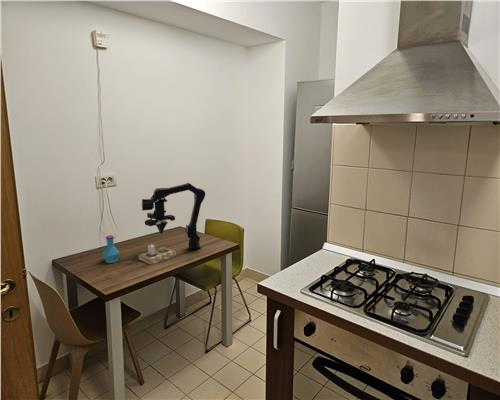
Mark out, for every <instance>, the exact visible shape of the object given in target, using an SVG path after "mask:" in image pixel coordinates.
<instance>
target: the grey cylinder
mask: <svg viewBox="0 0 500 400" xmlns="http://www.w3.org/2000/svg"><path fill="white" fill-rule="evenodd" d="M155 249H156V245H155V244H154V243H150V244H148V245H147V252H148V256H149V257H153V256H155Z"/></svg>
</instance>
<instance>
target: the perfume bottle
mask: <svg viewBox="0 0 500 400" xmlns="http://www.w3.org/2000/svg"><path fill="white" fill-rule="evenodd" d="M114 237H115V236H114V235H111V234H110V235H107V236H105V239H106V248H105V249H104V250H103V253H102V256H103V257H102V258H103V259H104V261H105V263H115V262H117V261H118V260H119V256H120V250H119V249H117V247H116V246H115V244H114Z"/></svg>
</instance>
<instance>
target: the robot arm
mask: <svg viewBox="0 0 500 400" xmlns="http://www.w3.org/2000/svg"><path fill="white" fill-rule="evenodd" d="M186 191H190V192H191V193H193V200H194V201H193V207H192V211H191V214H190V215H191V216H190V220H189V223H188V224H186V225H185V230H184V232H185V234H186V236H187V238H188V247H187V249H188V250H190V251H193V252H194V251H197V250H199V249H202V247H201V246H200V241H201V240H200V239H201V237H200V236H199V234H197V232H198V231H197V230H198V229H197V223H198V219H199V214H200V210H201V206H202V203H203V201H204V199H205V197H206V191H205V190H204V189H202V188H199V187H198V188H197V187H196V186H194V185H192V184H191V183H190V182H187V183H183V184H180V185H175V186H171V187H157V188H155V189H154V191H153V194H152V196H151V197H150V198H142V199H141V210H142V212H143V211H150V212H147V213H146V217H147V219H146V220H145V221H144V224H145V226H148V227H153V226H156V228H157V230H158V232H159V234H161V235H162V234H163V232H164V230H165V228H166V226H167V224H168V223H169V222H168V220H170V221H171V222H173V221H176V216H175V215H172V214H166V212H167V210H166V209H165V203H167V202H168V200H167V199H166V197H168V196H170V195H173V194H177V193H182V192H186ZM153 209H154V210H153ZM152 210H153V212H151V211H152Z"/></svg>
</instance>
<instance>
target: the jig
mask: <svg viewBox="0 0 500 400" xmlns="http://www.w3.org/2000/svg"><path fill="white" fill-rule="evenodd" d="M176 255H177V254H176V251H175V250H173V249H171V248H168V247H165V246H162V247H158V248H155V256H153V257H149V256H148V251H146V252H143V253H139V254H138V260H139V261H141V262H144V263H147V264H149V265H154V264H156V263H159V262H162V261H166V260H168V259H171V258H174V257H176Z"/></svg>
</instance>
